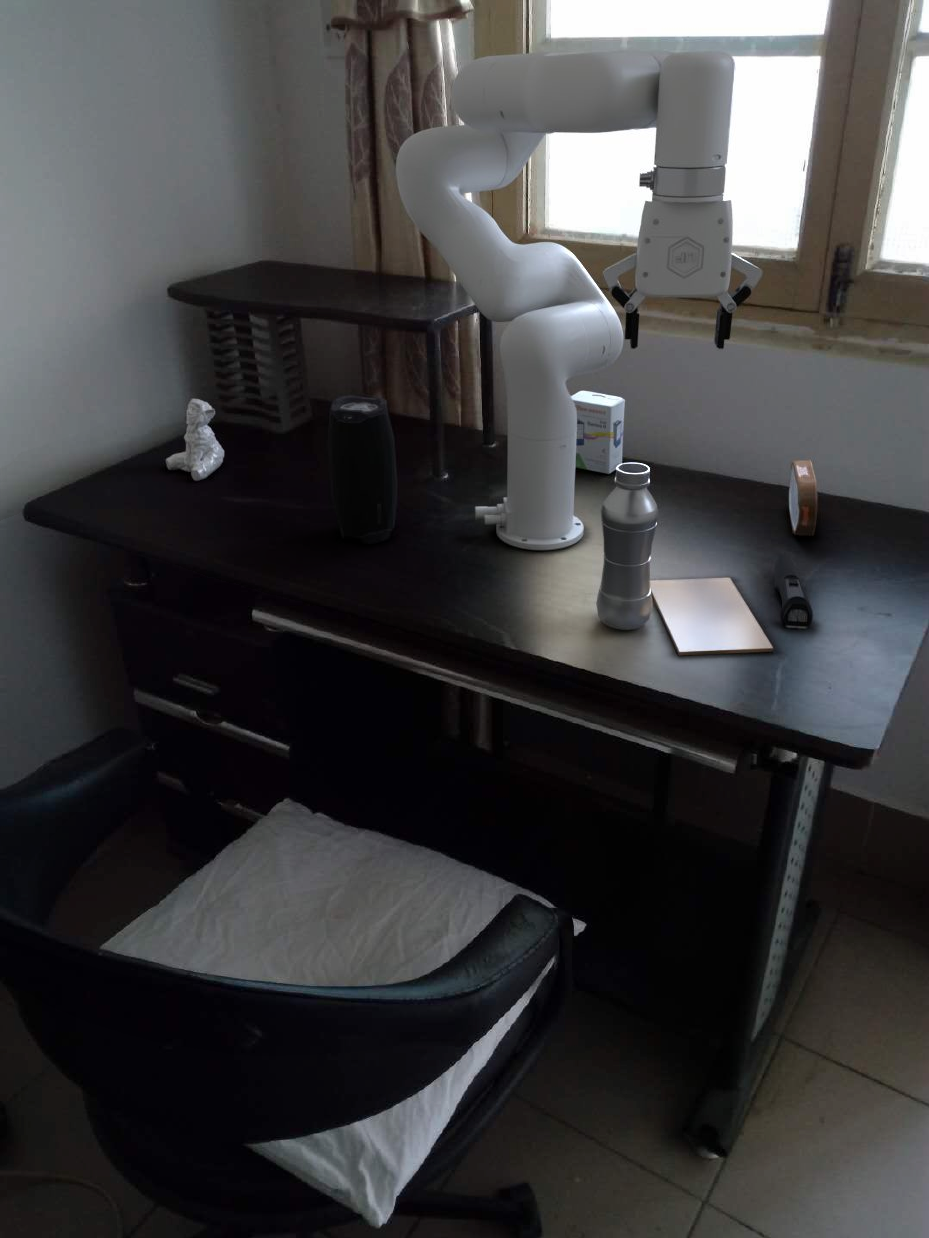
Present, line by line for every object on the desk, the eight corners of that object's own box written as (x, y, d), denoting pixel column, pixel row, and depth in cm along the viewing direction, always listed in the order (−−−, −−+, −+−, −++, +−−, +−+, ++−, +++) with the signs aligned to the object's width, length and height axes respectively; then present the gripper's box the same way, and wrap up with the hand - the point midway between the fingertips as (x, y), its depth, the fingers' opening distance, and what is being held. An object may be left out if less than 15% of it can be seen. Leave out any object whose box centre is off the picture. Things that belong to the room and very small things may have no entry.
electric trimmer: (797, 573, 134) (801, 551, 133) (812, 629, 121) (816, 605, 120) (768, 571, 135) (771, 549, 134) (780, 627, 122) (783, 603, 120)
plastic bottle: (645, 640, 119) (658, 481, 110) (589, 631, 121) (597, 475, 112) (655, 614, 125) (668, 461, 115) (601, 606, 127) (609, 455, 117)
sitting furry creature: (163, 469, 171) (151, 400, 165) (205, 455, 177) (195, 388, 171) (197, 482, 166) (186, 411, 160) (239, 467, 171) (230, 398, 165)
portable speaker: (333, 524, 150) (322, 395, 141) (395, 519, 151) (389, 391, 142) (337, 548, 143) (325, 414, 133) (402, 542, 144) (396, 409, 135)
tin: (814, 546, 141) (823, 489, 137) (790, 544, 142) (799, 488, 138) (804, 504, 154) (813, 451, 150) (783, 503, 154) (791, 450, 150)
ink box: (622, 466, 169) (627, 397, 163) (608, 475, 165) (612, 405, 160) (577, 456, 173) (580, 389, 168) (562, 465, 170) (565, 397, 164)
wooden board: (678, 655, 116) (679, 651, 116) (646, 583, 132) (646, 580, 132) (773, 651, 117) (773, 648, 117) (729, 580, 132) (729, 577, 132)
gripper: (607, 189, 105) (600, 354, 113) (777, 187, 103) (758, 354, 112) (606, 181, 112) (599, 338, 120) (766, 179, 110) (748, 338, 118)
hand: (676, 346), depth 116 cm, fingers open, 9 cm apart
